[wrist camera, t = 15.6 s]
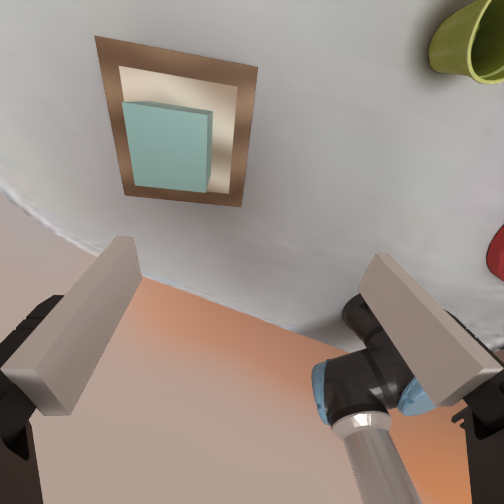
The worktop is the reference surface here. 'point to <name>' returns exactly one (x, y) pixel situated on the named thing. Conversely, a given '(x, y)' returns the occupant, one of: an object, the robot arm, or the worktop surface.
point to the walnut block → (188, 95)
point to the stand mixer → (497, 255)
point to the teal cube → (169, 145)
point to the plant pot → (471, 43)
